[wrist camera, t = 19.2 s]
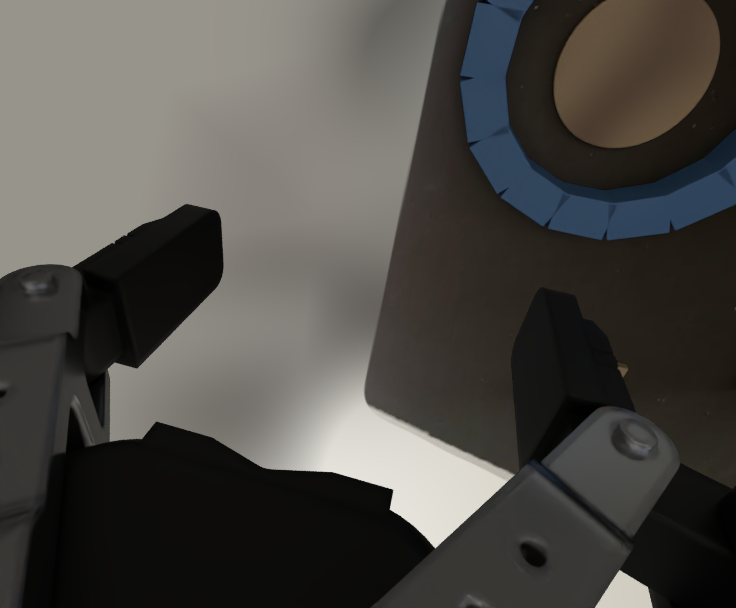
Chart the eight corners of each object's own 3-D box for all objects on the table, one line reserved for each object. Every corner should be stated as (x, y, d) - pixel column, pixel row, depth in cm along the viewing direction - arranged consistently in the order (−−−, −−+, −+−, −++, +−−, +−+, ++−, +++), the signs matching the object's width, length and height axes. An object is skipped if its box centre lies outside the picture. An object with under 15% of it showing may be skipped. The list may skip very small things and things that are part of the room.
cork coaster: (532, 132, 34) (532, 133, 33) (587, -30, 28) (589, -30, 28) (666, 158, 33) (668, 161, 32) (752, -3, 27) (757, -4, 27)
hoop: (433, 191, 38) (430, 203, 35) (523, -197, 25) (527, -220, 22) (711, 250, 36) (728, 267, 33) (973, -144, 22) (1033, -164, 20)
